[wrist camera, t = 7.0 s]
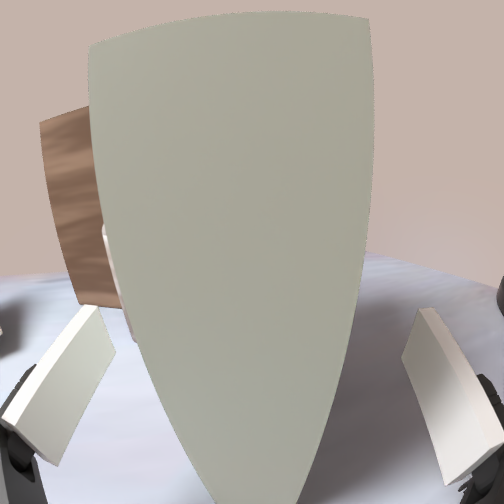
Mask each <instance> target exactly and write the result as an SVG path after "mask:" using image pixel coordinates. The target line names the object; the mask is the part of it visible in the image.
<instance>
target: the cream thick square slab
mask: <svg viewBox="0 0 504 504" xmlns="http://www.w3.org/2000/svg"><path fill="white" fill-rule="evenodd" d="M88 92H89V114H90V128H91V140H92V149H93V158H94V166H95V174H96V181H97V187H98V193H99V199H100V205H101V210H102V216H103V221H104V226H105V231H106V235H107V240H108V244H109V249H110V253H111V257H112V261H113V265H114V269H115V273H116V276H117V280H118V284H119V287H120V291H121V294H122V298H123V301H124V304H125V308H126V311H127V314H128V317H129V320H130V323H131V326H132V329H133V332H134V335H135V338H136V341H137V344H138V346H139V349H140V352H141V355H142V357H143V360H144V362H145V365H146V368H147V370H148V373H149V375H150V378H151V380H152V382H153V385H154V387H155V390H156V392H157V394H158V396H159V399H160V401H161V403H162V405H163V408H164V410H165V412H166V414H167V416H168V418H169V421H170V423H171V425H172V427H173V429H174V431H175V433H176V435H177V437H178V439H179V441H180V443H181V445H182V447H183V448H184V450H185V452H186V454H187V456H188V458H189V460H190V461H191V463H192V465H193V467H194V468H195V470H196V472H197V474H198V475H199V477H200V479H201V480H202V482H203V484H204V485H205V487H206V489H207V490H208V492H209V494H210V495H211V497H212V498H213V500H214V501H215V503H216V504H296V503H297V500H298V498H299V496H300V493H301V491H302V489H303V486H304V484H305V481H306V479H307V476H308V474H309V471H310V469H311V466H312V463H313V461H314V458H315V455H316V452H317V450H318V447H319V444H320V441H321V438H322V435H323V432H324V429H325V426H326V423H327V420H328V417H329V414H330V410H331V407H332V404H333V400H334V397H335V393H336V390H337V386H338V382H339V379H340V375H341V371H342V367H343V363H344V359H345V355H346V351H347V347H348V342H349V338H350V333H351V329H352V324H353V319H354V314H355V309H356V304H357V298H358V293H359V287H360V281H361V275H362V268H363V262H364V255H365V247H366V240H367V231H368V222H369V213H370V201H371V190H372V175H373V153H374V80H373V62H372V47H371V36H370V27H369V19H366V18H360V17H353V16H346V15H338V14H328V13H316V12H295V11H262V12H242V13H230V14H220V15H211V16H203V17H197V18H191V19H185V20H180V21H174V22H169V23H164V24H160V25H155V26H151V27H148V28H143V29H140V30H136V31H133V32H129V33H126V34H122V35H119V36H116V37H113V38H110V39H107V40H104V41H101V42H98V43H95V44H93V45H90V46H89V54H88Z"/></svg>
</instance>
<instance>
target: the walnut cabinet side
mask: <svg viewBox="0 0 504 504" xmlns="http://www.w3.org/2000/svg"><path fill="white" fill-rule="evenodd" d="M40 134H41V146H42V155H43V162H44V170H45V176H46V182H47V188H48V193H49V199H50V204H51V209H52V213H53V218H54V222H55V226H56V230H57V234H58V238H59V242H60V246H61V250H62V253H63V256H64V260H65V263H66V267H67V270H68V273H69V276H70V279H71V282H72V285H73V288H74V291H75V294H76V297H77V299H78V302H79V304H83V305H84V304H85V305H95V306H101V307H111V308H122V309H123V312H124V315H125V318H126V321H127V324H128V327H129V330H130V333H131V336H132V339H133V341H134V342H136V343H137V341H136V338H135V335H134V332H133V329H132V326H131V323H130V320H129V317H128V314H127V311H126V308H125V304H124V301H123V298H122V294H121V291H120V287H119V284H118V280H117V276H116V273H115V269H114V265H113V261H112V257H111V253H110V249H109V244H108V240H107V235H106V231H105V226H104V221H103V216H102V210H101V205H100V199H99V193H98V187H97V181H96V174H95V166H94V158H93V149H92V140H91V128H90V114H89V106H87V107H83V108H80V109H77V110H74V111H71V112H68V113H65V114H62V115H59V116H56V117H53V118H50V119H48V120H45V121H42V122H40Z"/></svg>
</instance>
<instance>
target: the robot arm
mask: <svg viewBox="0 0 504 504" xmlns="http://www.w3.org/2000/svg"><path fill="white" fill-rule="evenodd" d="M497 303H498V306H499V308H500V310H501V312H502V314H503V315H504V276H503V278H502V280H501V283H500V286H499V289H498V292H497ZM115 354H116V351H115V349H114V346H113V344H112V341H111V339H110V337H109V334H108V332H107V329H106V326H105V324H104V321H103V318H102V316H101V313H100V310H99V307H98V306H95V305H85V304H84V306H83V307H82V308H81V309H80V310H79V312H78V313H77V314H76V315H75V316H74V318H73V319H72V320H71V321H70V323H69V324H68V325H67V326H66V328H65V329H64V330H63V331H62V333H61V334H60V335H59V336H58V338H57V339H56V340H55V341H54V343H53V344H52V345H51V347H50V348H49V349H48V351H47V352H46V353H45V355H44V356H43V357H42V359H41V360H40V361H39V363H38V364H34V365H33V366H32V367H31V368H29V369H28V370H27V371H26V372H25V373H24V375H23V376H22V377H21V379H20V382H18V383H17V385H16V386H15V389H13V390H12V392H11V393H10V395H9V396H8V398H7V399H6V401H5V402H4V404H3V405H2V407H1V408H0V504H48V502H47V499H46V496H45V492H44V489H43V485H42V481H41V477H40V473H39V469H38V465H37V461H36V459H35V457H34V456H33V455H34V453H35V452H36V453H37V454H38V455H39V456H40V457H41V458H42V459H43V460H45V461H47V462H49V463H51V464H53V465H55V466H57V467H58V465H59V463H60V461H61V459H62V456H63V454H64V452H65V450H66V448H67V446H68V444H69V441H70V439H71V437H72V435H73V433H74V431H75V429H76V427H77V425H78V423H79V421H80V419H81V417H82V415H83V413H84V411H85V409H86V407H87V405H88V404H89V402H90V400H91V398H92V396H93V394H94V392H95V390H96V388H97V387H98V385H99V383H100V381H101V379H102V377H103V376H104V374H105V372H106V370H107V368H108V366H109V365H110V363H111V361H112V359H113V358H114V356H115ZM401 359H402V362H403V364H404V366H405V369H406V371H407V374H408V376H409V379H410V381H411V384H412V386H413V389H414V392H415V394H416V397H417V400H418V402H419V405H420V408H421V410H422V413H423V416H424V419H425V422H426V425H427V428H428V431H429V434H430V437H431V440H432V443H433V446H434V449H435V453H436V456H437V459H438V463H439V466H440V470H441V474H442V477H443V481H444V485H445V486H447V485H450V484H453V483H455V482H458V481H460V480H462V479H464V478H465V477H466V476H467V475H469V474H470V473H472V476H473V477H472V478H471V479H470V480H468V481H467V482H466V483H464V484H463V485H462V486H461V487H460V488H459V490H458V491H459V492H460V491H462V490H463V489H465V488H466V487H467V488H466V490H465V491H464V492H463V493H464V495H463V498H462V500H461V502H460V504H504V405H503V403H501V399H500V397H499V395H497V392H496V390H495V388H494V386H493V384H492V383H491V381H489V380H488V379H487V378H486V377H485V376H484V375H483V374H479V375H475V373H474V371H473V369H472V368H471V366H470V364H469V362H468V361H467V359H466V357H465V356H464V354H463V352H462V351H461V349H460V347H459V346H458V344H457V342H456V341H455V339H454V338H453V336H452V334H451V333H450V331H449V330H448V328H447V327H446V325H445V324H444V322H443V321H442V319H441V318H440V316H439V315H438V313H437V312H436V310H435V309H434V307H431V308H420V309H418V311H417V314H416V317H415V321H414V324H413V326H412V329H411V332H410V335H409V338H408V341H407V343H406V346H405V349H404V351H403V354H402V356H401Z"/></svg>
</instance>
